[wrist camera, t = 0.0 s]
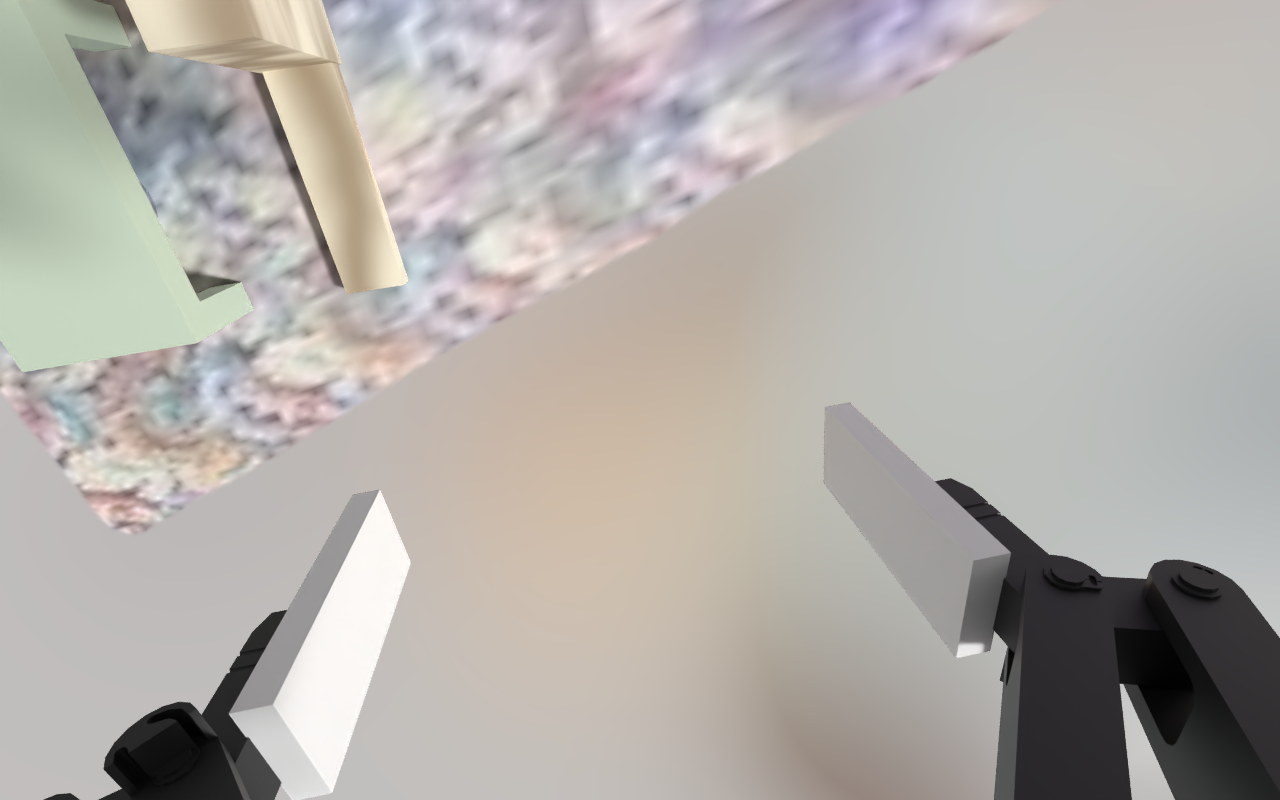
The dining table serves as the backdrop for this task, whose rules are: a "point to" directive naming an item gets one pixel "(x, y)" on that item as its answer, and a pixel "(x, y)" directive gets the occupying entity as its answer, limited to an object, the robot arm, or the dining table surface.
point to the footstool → (81, 208)
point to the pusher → (294, 112)
